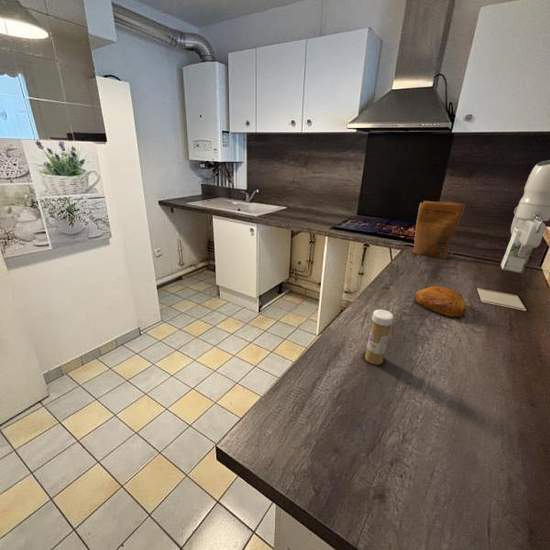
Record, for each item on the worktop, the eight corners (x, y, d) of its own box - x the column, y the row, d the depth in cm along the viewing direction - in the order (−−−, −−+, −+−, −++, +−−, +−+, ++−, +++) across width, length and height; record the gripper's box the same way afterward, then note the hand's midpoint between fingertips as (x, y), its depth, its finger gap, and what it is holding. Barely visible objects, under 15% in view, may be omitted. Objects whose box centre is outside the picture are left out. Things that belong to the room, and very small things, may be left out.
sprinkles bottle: (360, 356, 75) (369, 310, 69) (374, 352, 76) (384, 307, 71) (373, 367, 71) (382, 320, 65) (387, 363, 73) (398, 316, 67)
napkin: (516, 296, 110) (517, 295, 110) (526, 311, 99) (526, 310, 99) (476, 288, 115) (477, 287, 115) (481, 302, 105) (481, 301, 104)
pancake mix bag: (449, 261, 144) (465, 204, 133) (408, 254, 153) (420, 199, 141) (449, 257, 149) (465, 202, 138) (410, 250, 158) (422, 198, 147)
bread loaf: (448, 328, 92) (459, 308, 88) (406, 301, 103) (414, 282, 99) (471, 315, 99) (482, 296, 95) (430, 291, 110) (437, 273, 106)
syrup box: (519, 268, 104) (535, 228, 98) (522, 274, 99) (539, 232, 93) (500, 265, 106) (514, 226, 100) (502, 270, 102) (517, 229, 96)
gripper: (556, 220, 85) (538, 264, 90) (535, 209, 102) (521, 246, 107) (530, 217, 87) (513, 260, 93) (513, 207, 104) (500, 244, 110)
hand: (517, 253), depth 100 cm, fingers closed on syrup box, 6 cm apart
